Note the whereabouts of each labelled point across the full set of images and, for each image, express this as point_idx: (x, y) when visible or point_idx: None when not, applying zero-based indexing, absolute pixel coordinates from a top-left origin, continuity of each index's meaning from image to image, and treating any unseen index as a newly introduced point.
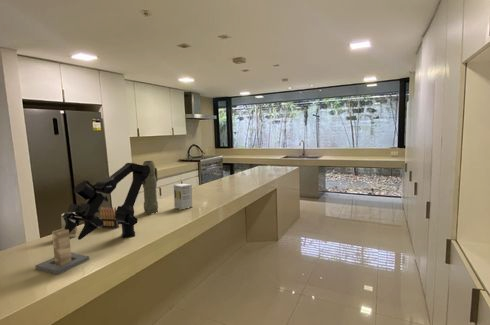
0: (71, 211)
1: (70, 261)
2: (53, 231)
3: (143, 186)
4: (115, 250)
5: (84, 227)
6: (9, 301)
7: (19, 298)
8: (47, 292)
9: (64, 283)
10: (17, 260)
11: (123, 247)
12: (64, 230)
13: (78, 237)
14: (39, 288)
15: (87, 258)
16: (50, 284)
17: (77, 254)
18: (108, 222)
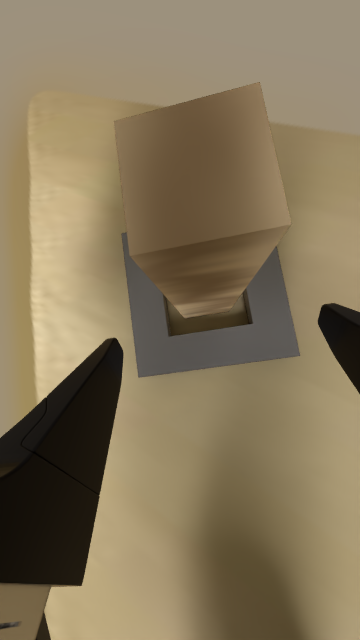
0: None
1: (163, 302)
2: (259, 99)
3: None
4: (129, 507)
5: (18, 440)
6: (89, 105)
7: (81, 124)
8: (42, 179)
9: (47, 228)
10: None
11: (125, 557)
12: (153, 206)
13: (105, 343)
14: (87, 173)
15: (139, 367)
16: (81, 201)
17: (215, 362)
18: None
